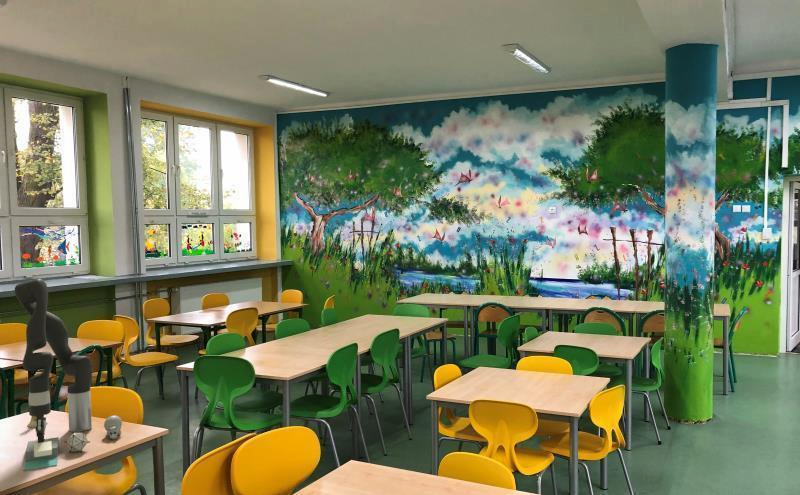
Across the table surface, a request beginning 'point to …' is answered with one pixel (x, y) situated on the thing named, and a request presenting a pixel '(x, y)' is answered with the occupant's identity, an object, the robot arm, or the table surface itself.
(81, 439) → the game die
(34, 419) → the hand bell
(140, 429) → the table surface
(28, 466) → the teal mat
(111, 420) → the round bodied animal figurine
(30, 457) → the gray board
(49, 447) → the ivory tile
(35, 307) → the robot arm
